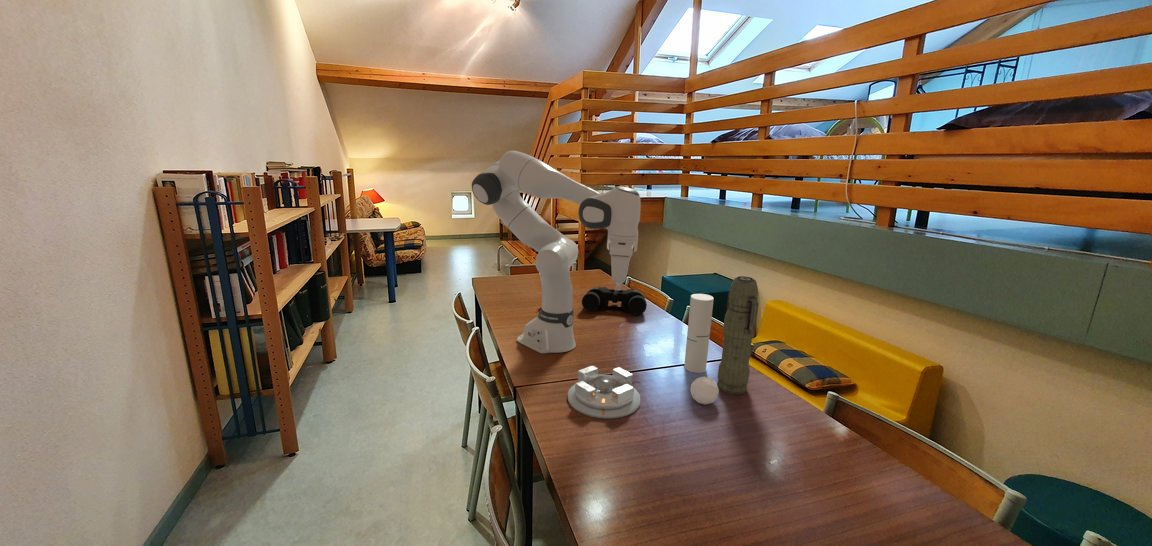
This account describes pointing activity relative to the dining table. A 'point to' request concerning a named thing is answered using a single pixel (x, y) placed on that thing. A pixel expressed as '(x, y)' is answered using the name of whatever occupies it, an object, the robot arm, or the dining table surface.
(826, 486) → the dining table surface
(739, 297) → the thermos
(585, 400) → the tabbed round base
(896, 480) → the dining table surface
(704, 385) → the geometric ball
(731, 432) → the dining table surface
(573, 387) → the cap plate
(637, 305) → the binoculars
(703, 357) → the cylindrical container
